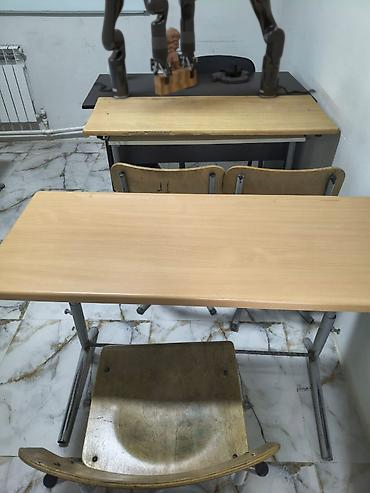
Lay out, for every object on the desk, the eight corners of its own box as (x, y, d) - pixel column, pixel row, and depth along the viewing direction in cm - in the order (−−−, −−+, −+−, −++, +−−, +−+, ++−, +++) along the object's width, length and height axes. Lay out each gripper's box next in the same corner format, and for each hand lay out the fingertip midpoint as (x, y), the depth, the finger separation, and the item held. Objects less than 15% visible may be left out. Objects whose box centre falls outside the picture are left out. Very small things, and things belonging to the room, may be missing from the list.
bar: (161, 95, 180) (159, 77, 174) (155, 93, 183) (153, 75, 177) (196, 84, 191) (196, 67, 186) (190, 83, 194) (190, 66, 189)
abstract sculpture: (216, 68, 212) (209, 60, 227) (216, 84, 218) (208, 75, 233) (257, 65, 215) (247, 57, 230) (255, 81, 221) (245, 73, 236)
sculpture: (197, 88, 213) (196, 30, 194) (156, 89, 214) (152, 31, 194) (196, 75, 234) (196, 22, 215) (159, 76, 235) (156, 23, 215)
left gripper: (175, 47, 167) (176, 84, 177) (156, 43, 175) (159, 78, 186) (162, 50, 163) (164, 87, 174) (144, 45, 171) (147, 81, 182)
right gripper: (202, 41, 175) (203, 78, 186) (183, 37, 184) (185, 73, 195) (191, 44, 172) (192, 81, 183) (172, 40, 180) (174, 76, 191)
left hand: (161, 82), depth 180 cm, fingers open, 8 cm apart
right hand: (188, 77), depth 189 cm, fingers closed on bar, 5 cm apart
